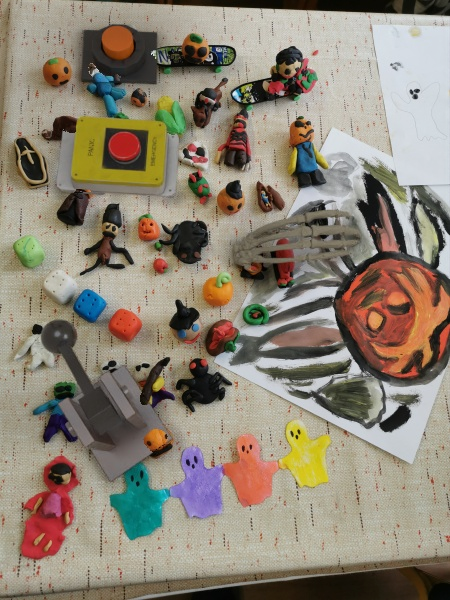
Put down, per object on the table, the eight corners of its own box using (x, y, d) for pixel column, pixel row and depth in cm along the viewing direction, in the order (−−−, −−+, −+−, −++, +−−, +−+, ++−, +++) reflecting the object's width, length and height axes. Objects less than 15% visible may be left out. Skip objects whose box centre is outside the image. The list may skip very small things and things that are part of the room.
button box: (81, 82, 75) (78, 69, 73) (84, 33, 77) (81, 19, 75) (156, 84, 76) (155, 72, 73) (157, 35, 78) (156, 22, 76)
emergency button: (175, 182, 67) (48, 174, 66) (175, 198, 71) (56, 191, 70) (179, 115, 70) (57, 106, 69) (179, 135, 74) (64, 127, 73)
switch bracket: (64, 405, 63) (24, 386, 47) (125, 366, 65) (106, 334, 49) (111, 482, 61) (86, 488, 45) (172, 439, 63) (169, 430, 47)
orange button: (102, 59, 74) (101, 50, 72) (104, 34, 75) (102, 25, 73) (133, 60, 74) (132, 51, 72) (134, 35, 75) (133, 26, 74)
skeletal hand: (364, 255, 72) (382, 247, 65) (236, 280, 70) (242, 274, 64) (354, 210, 72) (371, 198, 66) (226, 234, 70) (231, 224, 64)
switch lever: (47, 347, 59) (30, 325, 57) (76, 329, 60) (61, 306, 58) (96, 444, 48) (77, 421, 46) (131, 420, 49) (115, 396, 47)
